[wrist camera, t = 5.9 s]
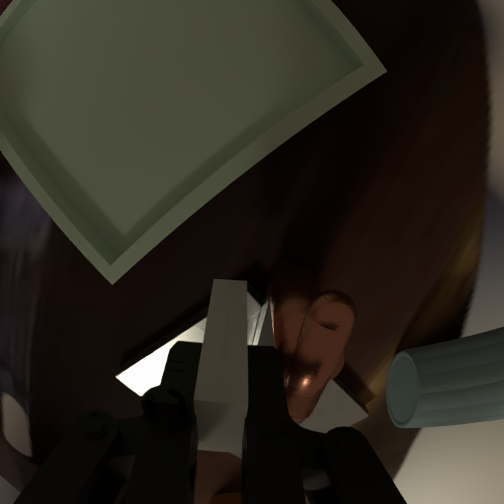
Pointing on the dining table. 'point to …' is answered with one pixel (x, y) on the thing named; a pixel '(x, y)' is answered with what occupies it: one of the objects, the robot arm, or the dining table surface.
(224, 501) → the potted plant
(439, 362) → the cup
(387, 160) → the dining table surface
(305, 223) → the dining table surface
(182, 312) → the dining table surface
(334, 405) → the crank plate
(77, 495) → the robot arm
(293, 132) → the tray
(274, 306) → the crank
